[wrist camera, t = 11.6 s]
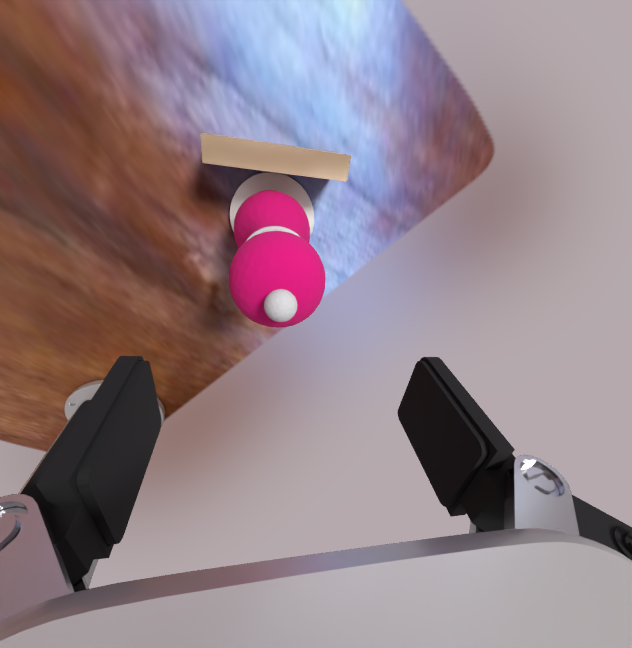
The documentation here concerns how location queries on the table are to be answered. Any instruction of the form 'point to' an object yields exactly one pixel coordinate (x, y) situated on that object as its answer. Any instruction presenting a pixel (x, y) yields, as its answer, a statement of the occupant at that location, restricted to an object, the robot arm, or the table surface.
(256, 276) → the pepper mill
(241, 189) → the coaster
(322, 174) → the oak rail
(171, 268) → the table surface
